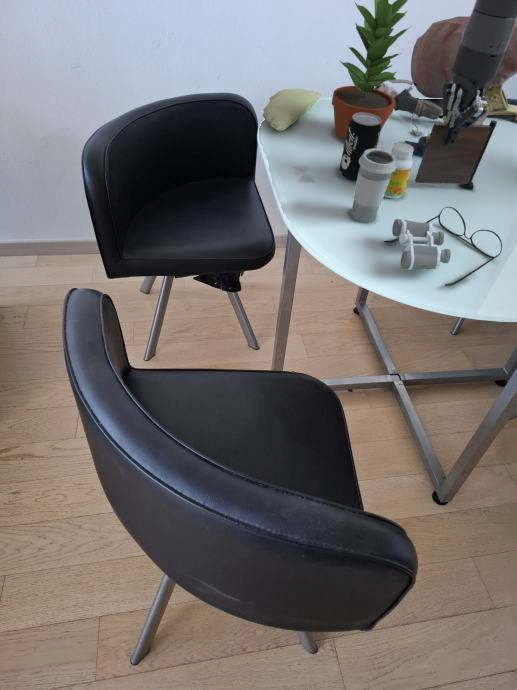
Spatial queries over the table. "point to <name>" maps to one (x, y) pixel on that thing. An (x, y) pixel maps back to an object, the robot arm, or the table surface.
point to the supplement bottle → (400, 170)
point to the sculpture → (450, 57)
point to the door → (452, 155)
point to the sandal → (498, 102)
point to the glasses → (464, 240)
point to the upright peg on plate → (470, 183)
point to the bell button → (427, 138)
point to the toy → (416, 103)
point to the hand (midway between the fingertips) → (446, 145)
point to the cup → (372, 183)
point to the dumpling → (288, 106)
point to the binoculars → (417, 254)
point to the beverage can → (359, 142)
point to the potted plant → (369, 68)
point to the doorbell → (418, 146)
